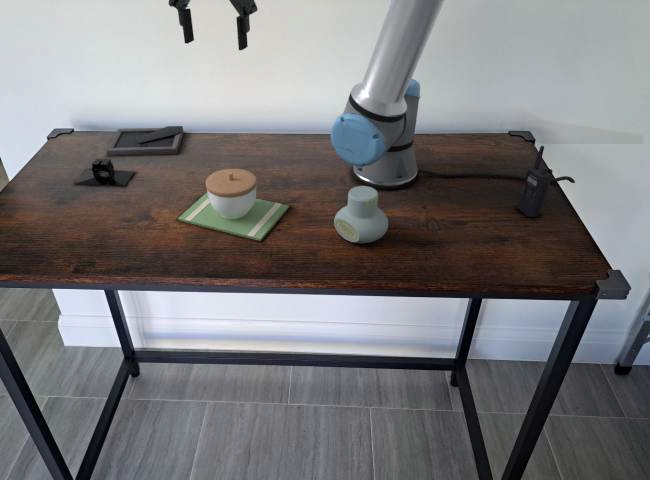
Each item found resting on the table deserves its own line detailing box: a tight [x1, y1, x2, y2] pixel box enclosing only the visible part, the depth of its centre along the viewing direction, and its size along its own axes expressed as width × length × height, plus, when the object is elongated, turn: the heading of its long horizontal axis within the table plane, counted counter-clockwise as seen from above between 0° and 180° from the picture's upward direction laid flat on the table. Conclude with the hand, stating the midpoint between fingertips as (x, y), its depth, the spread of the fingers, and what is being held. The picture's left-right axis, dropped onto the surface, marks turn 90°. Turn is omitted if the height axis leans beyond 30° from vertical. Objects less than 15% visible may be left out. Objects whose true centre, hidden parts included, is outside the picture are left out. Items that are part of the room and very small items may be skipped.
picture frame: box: [106, 125, 184, 157], centre depth 150 cm, size 13×2×18 cm
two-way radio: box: [517, 145, 554, 218], centre depth 116 cm, size 6×4×15 cm
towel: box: [177, 192, 290, 242], centre depth 122 cm, size 20×14×1 cm
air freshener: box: [333, 185, 389, 244], centre depth 112 cm, size 11×8×10 cm
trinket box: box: [205, 168, 258, 219], centre depth 119 cm, size 11×11×9 cm
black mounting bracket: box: [75, 158, 135, 188], centre depth 135 cm, size 12×7×5 cm, turn 83°
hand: (215, 45), depth 122 cm, fingers open, 13 cm apart
